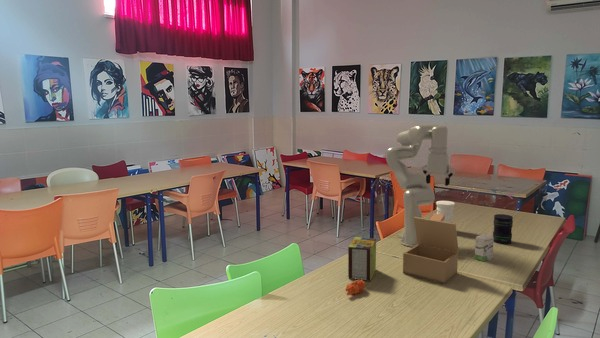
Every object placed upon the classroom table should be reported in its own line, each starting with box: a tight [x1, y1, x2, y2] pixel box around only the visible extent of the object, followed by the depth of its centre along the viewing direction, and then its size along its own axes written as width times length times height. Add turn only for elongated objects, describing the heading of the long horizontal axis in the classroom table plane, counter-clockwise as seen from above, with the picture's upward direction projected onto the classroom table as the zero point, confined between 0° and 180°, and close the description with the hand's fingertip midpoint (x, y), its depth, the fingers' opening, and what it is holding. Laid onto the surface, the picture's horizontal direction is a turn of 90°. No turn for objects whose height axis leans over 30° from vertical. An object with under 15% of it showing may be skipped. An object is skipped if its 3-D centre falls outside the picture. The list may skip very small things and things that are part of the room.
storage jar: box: [492, 213, 514, 245], centre depth 252 cm, size 10×10×15 cm
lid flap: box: [414, 212, 460, 253], centre depth 212 cm, size 20×16×7 cm
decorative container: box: [435, 200, 456, 223], centre depth 274 cm, size 12×12×18 cm
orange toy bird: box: [345, 279, 367, 296], centre depth 189 cm, size 5×8×12 cm
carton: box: [402, 244, 459, 285], centre depth 208 cm, size 20×16×10 cm
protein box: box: [347, 236, 377, 282], centre depth 208 cm, size 10×15×16 cm
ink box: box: [474, 233, 494, 262], centre depth 226 cm, size 9×5×12 cm, turn 123°
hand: (437, 184), depth 225 cm, fingers open, 9 cm apart
